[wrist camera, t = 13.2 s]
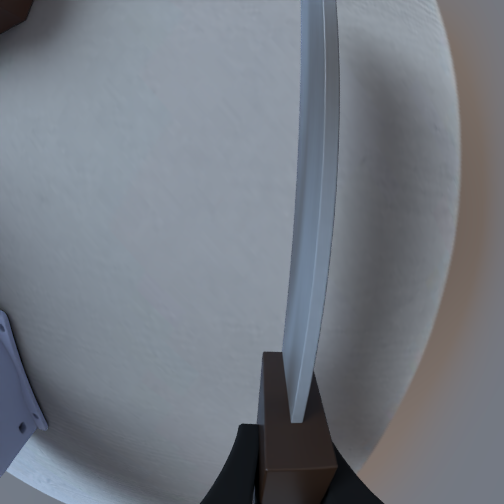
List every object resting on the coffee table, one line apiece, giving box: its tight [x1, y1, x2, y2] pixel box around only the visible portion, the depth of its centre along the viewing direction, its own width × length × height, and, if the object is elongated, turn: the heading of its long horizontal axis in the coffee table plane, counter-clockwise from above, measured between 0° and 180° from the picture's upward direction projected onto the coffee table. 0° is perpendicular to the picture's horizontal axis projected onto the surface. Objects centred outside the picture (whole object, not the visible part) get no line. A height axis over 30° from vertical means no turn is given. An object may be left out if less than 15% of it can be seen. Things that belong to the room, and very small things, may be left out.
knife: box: [253, 0, 340, 504], centre depth 6 cm, size 20×2×5 cm, turn 177°
